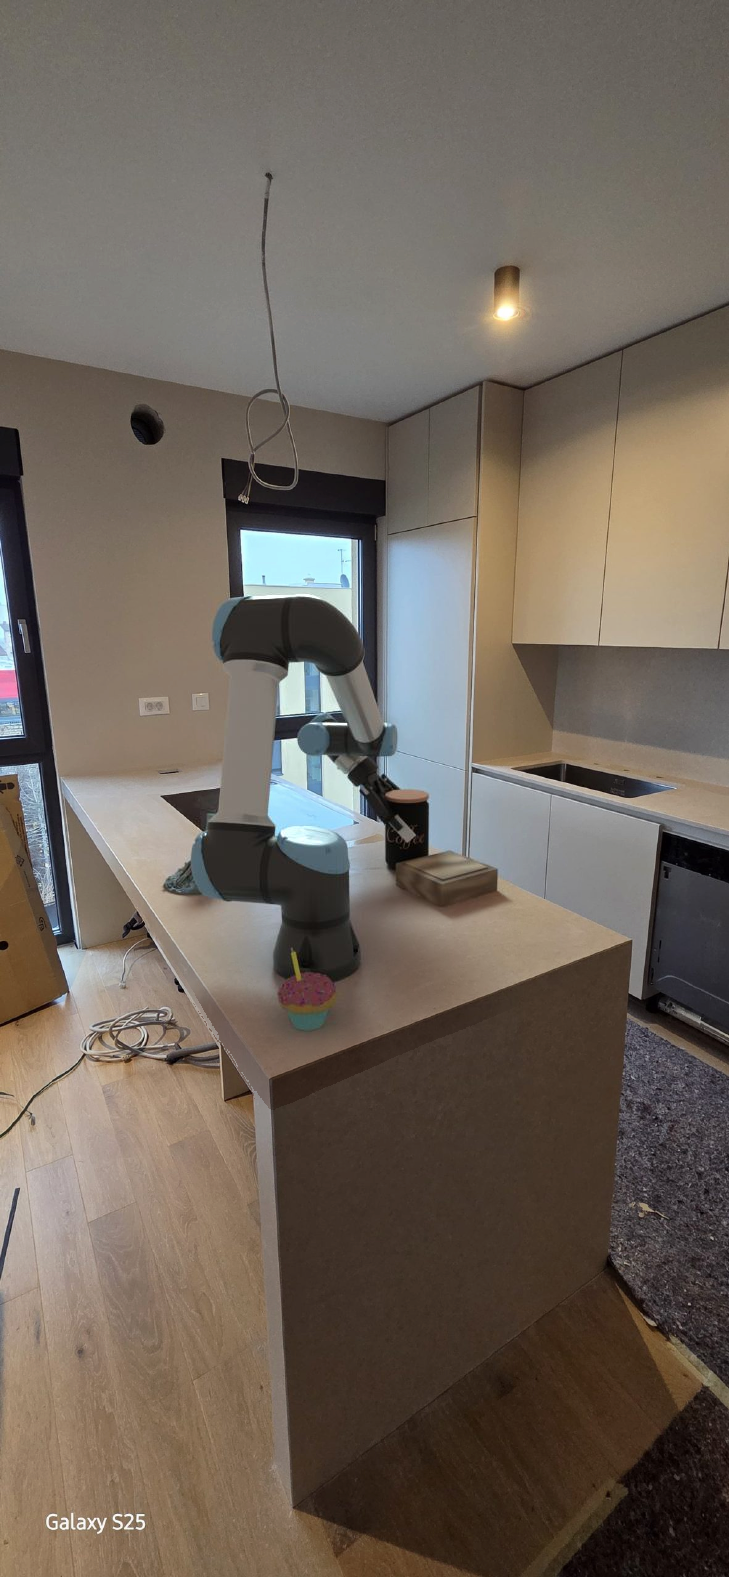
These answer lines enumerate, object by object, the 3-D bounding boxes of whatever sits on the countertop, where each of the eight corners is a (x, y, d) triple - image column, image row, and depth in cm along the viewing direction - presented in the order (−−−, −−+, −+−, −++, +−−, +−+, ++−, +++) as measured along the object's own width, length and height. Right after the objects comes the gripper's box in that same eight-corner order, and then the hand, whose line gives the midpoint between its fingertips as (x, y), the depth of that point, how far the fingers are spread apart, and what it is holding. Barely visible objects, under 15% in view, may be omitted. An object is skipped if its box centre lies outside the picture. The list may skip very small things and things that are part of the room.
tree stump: (150, 880, 156) (161, 805, 156) (228, 881, 168) (238, 812, 168) (177, 899, 142) (189, 817, 141) (260, 900, 153) (271, 824, 153)
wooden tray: (497, 890, 145) (497, 867, 144) (441, 906, 137) (441, 882, 136) (449, 870, 158) (449, 849, 157) (395, 884, 150) (395, 862, 149)
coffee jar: (380, 870, 159) (379, 797, 155) (391, 856, 169) (391, 788, 165) (423, 874, 156) (424, 800, 152) (432, 859, 166) (433, 790, 162)
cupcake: (283, 1042, 91) (280, 963, 89) (275, 1010, 99) (271, 937, 97) (343, 1032, 94) (342, 954, 91) (330, 1001, 102) (328, 929, 99)
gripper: (363, 767, 173) (420, 829, 172) (328, 785, 152) (393, 856, 150) (382, 748, 170) (440, 811, 169) (349, 764, 149) (415, 836, 147)
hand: (418, 832), depth 160 cm, fingers closed on coffee jar, 11 cm apart
